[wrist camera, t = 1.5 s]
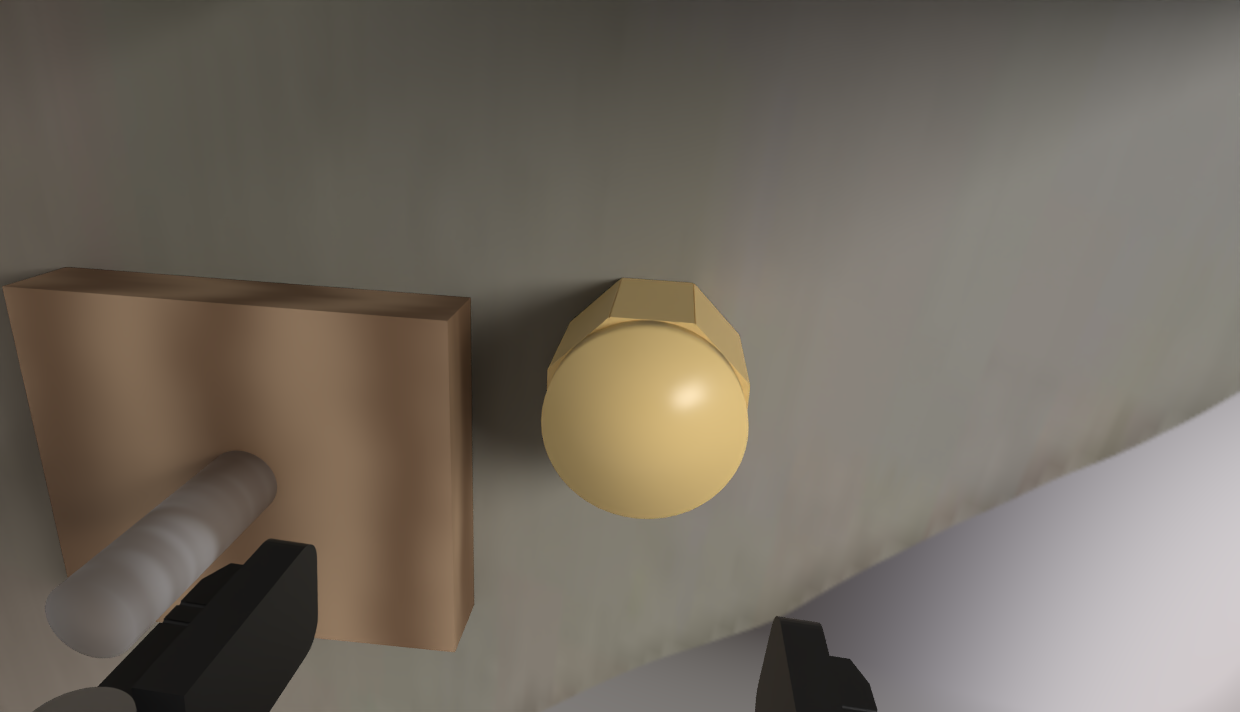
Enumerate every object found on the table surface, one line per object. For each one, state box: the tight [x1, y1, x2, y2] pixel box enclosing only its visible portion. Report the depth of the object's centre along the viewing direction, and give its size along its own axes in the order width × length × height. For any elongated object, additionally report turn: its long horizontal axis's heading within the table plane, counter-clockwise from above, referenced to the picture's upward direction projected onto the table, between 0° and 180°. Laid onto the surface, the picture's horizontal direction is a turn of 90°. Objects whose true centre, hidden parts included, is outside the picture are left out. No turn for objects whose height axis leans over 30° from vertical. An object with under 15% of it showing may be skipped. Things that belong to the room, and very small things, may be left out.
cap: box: [541, 278, 750, 519], centre depth 27 cm, size 6×6×6 cm
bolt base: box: [2, 267, 474, 658], centre depth 27 cm, size 16×14×11 cm
